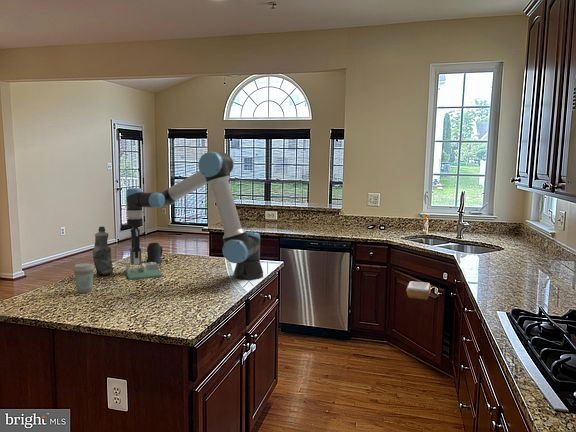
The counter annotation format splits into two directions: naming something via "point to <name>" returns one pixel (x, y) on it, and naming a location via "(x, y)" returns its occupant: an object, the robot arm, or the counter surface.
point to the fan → (151, 265)
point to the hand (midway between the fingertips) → (135, 262)
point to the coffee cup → (84, 277)
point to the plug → (133, 256)
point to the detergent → (102, 253)
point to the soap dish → (418, 290)
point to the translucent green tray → (141, 272)
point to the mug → (154, 253)
